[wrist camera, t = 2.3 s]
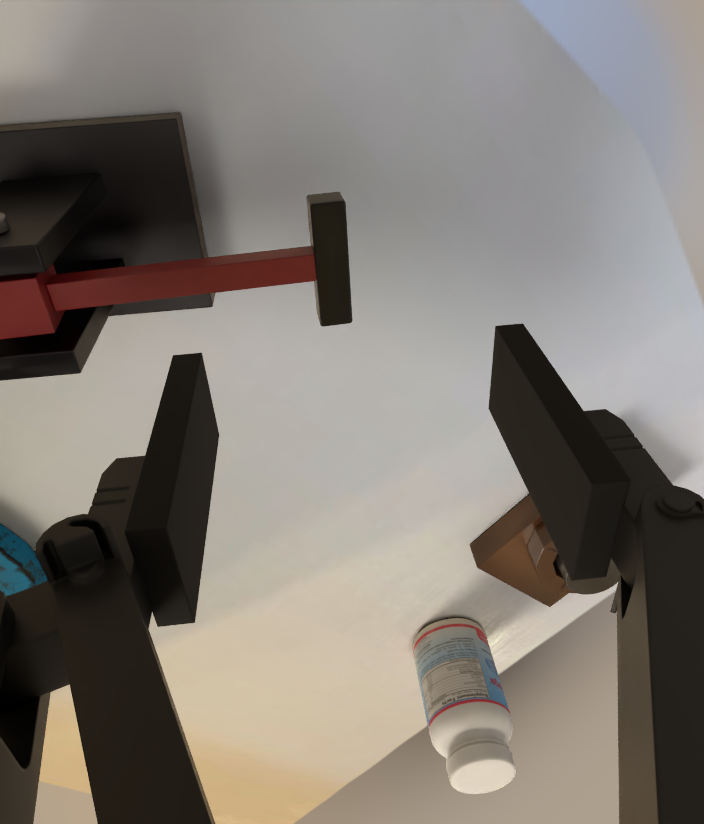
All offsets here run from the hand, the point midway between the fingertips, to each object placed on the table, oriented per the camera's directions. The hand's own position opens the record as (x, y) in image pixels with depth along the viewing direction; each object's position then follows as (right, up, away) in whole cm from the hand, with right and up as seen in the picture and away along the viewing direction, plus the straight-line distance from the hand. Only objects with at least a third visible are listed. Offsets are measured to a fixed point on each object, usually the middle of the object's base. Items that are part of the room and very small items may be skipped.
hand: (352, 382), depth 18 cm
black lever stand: (-14, +9, +14) cm, 21 cm away
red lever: (-7, +5, +8) cm, 12 cm away
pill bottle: (+8, -19, +35) cm, 41 cm away
